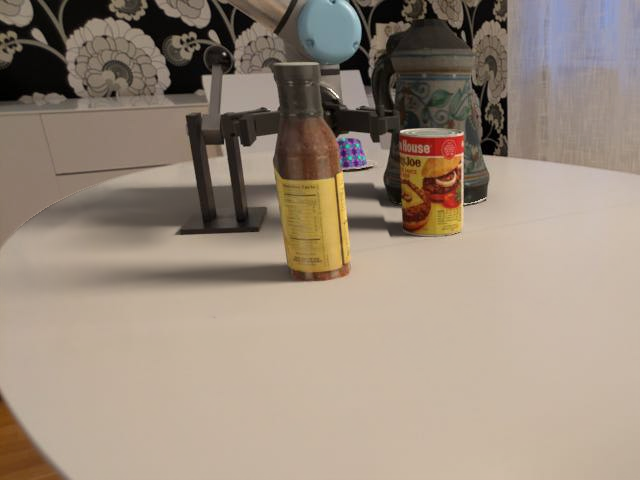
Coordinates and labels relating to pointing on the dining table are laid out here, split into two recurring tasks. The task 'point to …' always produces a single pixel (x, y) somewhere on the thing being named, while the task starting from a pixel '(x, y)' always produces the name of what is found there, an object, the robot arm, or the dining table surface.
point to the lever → (215, 93)
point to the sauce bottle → (309, 178)
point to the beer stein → (430, 96)
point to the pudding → (351, 153)
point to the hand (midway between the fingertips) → (311, 131)
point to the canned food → (432, 181)
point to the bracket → (209, 215)
